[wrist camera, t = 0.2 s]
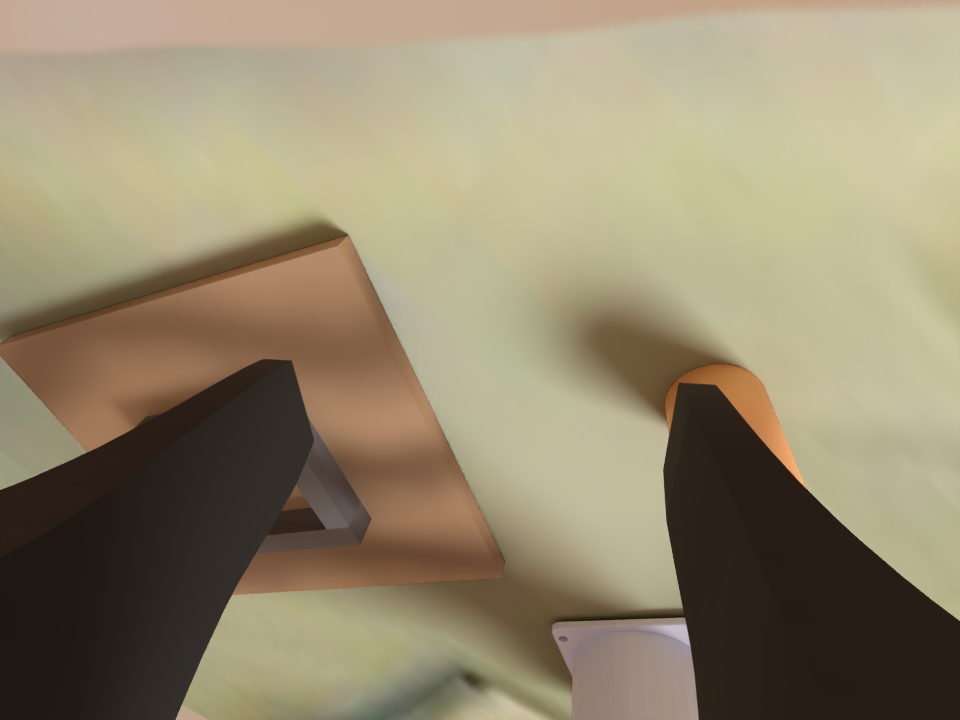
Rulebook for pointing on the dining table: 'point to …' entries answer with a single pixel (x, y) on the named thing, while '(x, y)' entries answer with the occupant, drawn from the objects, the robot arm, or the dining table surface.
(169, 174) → the dining table surface
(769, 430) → the peg
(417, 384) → the socket
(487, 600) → the dining table surface
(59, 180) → the dining table surface
